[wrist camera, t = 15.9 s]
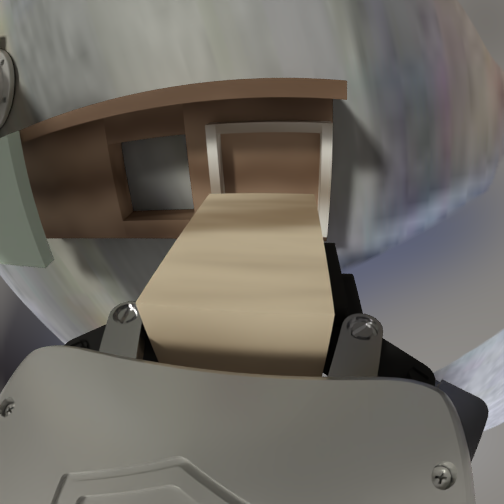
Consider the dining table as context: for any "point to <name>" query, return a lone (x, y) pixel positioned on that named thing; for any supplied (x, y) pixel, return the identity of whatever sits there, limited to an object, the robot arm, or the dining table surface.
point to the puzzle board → (198, 150)
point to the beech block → (244, 289)
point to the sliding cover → (19, 211)
